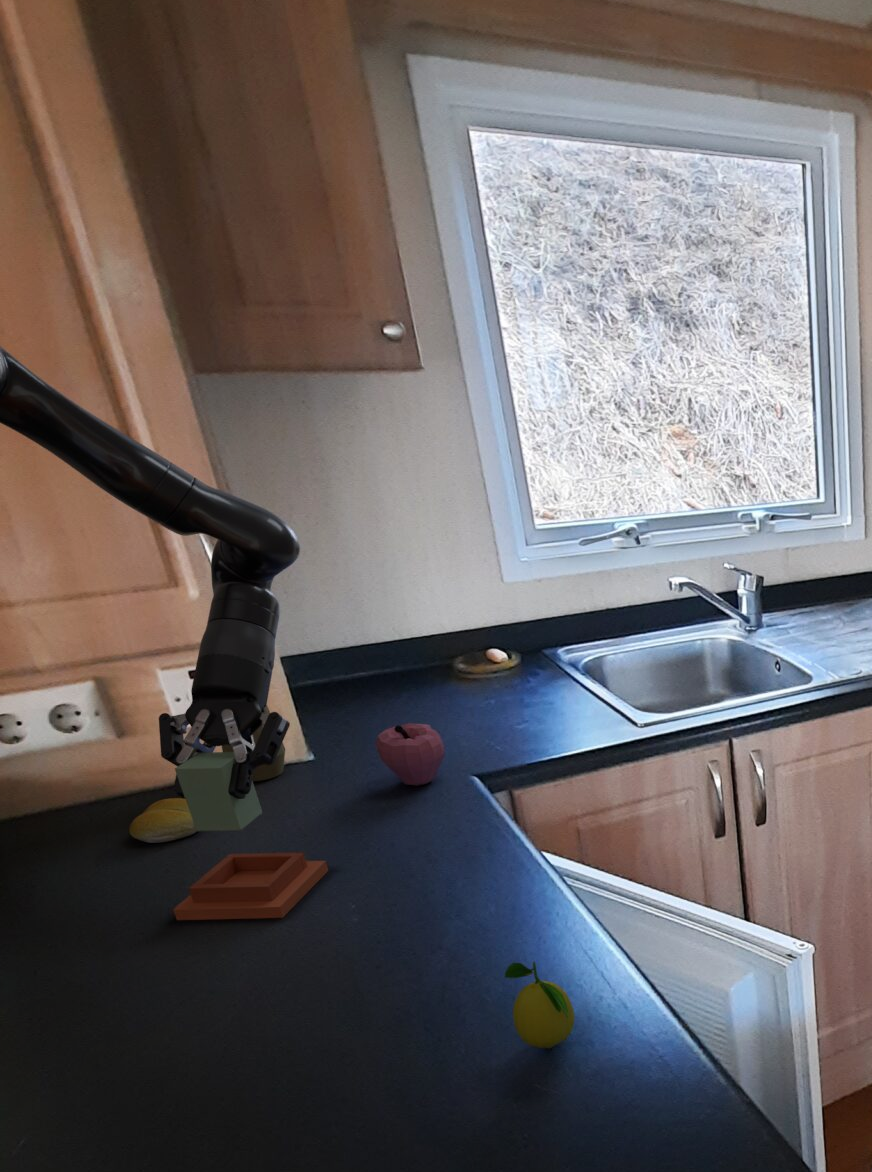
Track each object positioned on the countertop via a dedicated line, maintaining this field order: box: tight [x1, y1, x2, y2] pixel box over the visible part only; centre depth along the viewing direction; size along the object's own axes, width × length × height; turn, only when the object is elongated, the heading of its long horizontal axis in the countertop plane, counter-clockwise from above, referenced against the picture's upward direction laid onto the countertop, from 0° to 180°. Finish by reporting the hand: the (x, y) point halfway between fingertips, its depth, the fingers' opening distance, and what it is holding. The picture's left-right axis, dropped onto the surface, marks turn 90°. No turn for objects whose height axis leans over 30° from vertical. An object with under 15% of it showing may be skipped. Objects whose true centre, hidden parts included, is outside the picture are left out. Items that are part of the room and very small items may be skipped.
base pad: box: [172, 852, 329, 921], centre depth 129 cm, size 12×12×4 cm
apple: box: [375, 722, 446, 787], centre depth 159 cm, size 10×9×10 cm
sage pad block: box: [174, 751, 263, 832], centre depth 124 cm, size 5×5×8 cm
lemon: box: [504, 960, 575, 1049], centre depth 102 cm, size 7×6×10 cm
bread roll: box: [128, 797, 198, 844], centre depth 144 cm, size 8×9×4 cm
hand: (211, 796), depth 122 cm, fingers closed on sage pad block, 5 cm apart
